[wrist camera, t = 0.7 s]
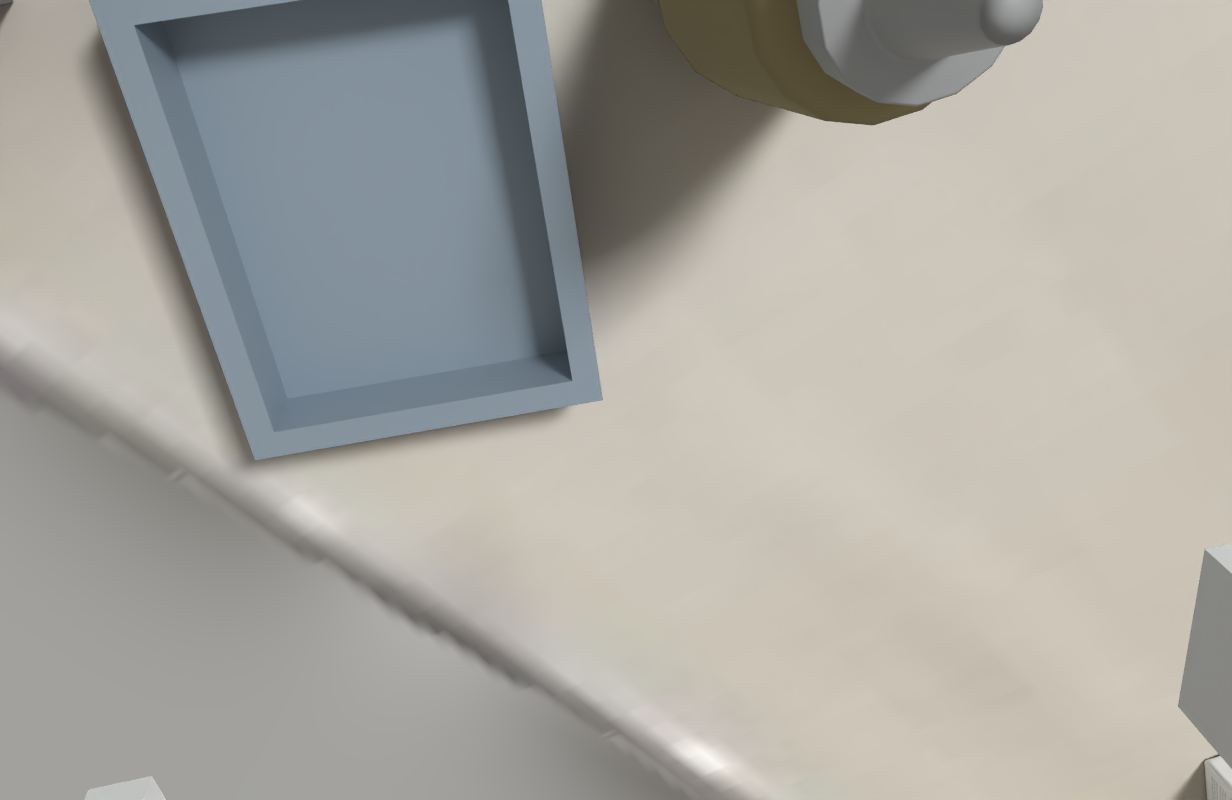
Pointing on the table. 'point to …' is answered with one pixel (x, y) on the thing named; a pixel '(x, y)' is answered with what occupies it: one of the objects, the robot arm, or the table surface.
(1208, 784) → the ink box
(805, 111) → the squeeze bottle
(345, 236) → the parts tray
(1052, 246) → the table surface
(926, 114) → the table surface
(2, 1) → the grey boxy piece
